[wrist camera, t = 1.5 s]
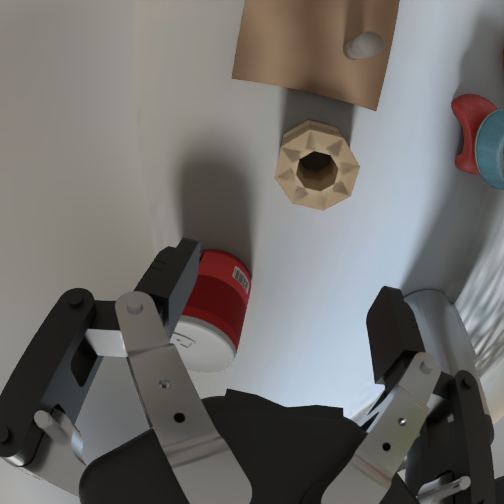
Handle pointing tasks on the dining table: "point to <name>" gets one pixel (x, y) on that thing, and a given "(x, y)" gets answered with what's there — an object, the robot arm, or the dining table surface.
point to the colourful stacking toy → (481, 138)
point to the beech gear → (324, 180)
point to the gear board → (318, 46)
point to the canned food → (213, 314)
